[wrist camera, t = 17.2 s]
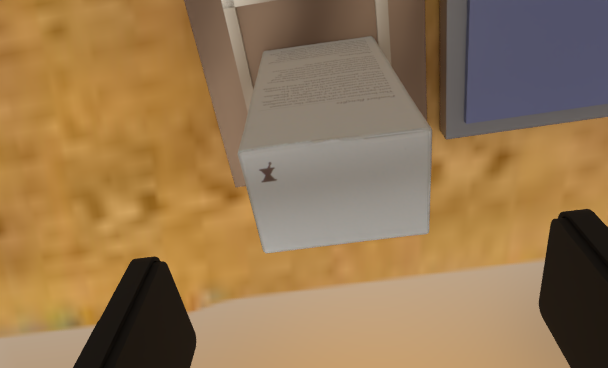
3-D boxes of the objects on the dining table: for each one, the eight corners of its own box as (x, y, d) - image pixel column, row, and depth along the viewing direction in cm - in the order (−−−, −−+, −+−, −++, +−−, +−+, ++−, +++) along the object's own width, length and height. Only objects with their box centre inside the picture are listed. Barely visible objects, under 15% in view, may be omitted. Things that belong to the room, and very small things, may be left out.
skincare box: (275, 122, 26) (258, 257, 16) (261, 49, 24) (231, 149, 14) (380, 109, 26) (432, 238, 15) (376, 33, 23) (434, 123, 13)
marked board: (418, -61, 22) (425, -60, 21) (423, 153, 28) (428, 163, 27) (184, -20, 23) (177, -17, 22) (237, 179, 29) (235, 189, 28)
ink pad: (645, -67, 22) (671, -65, 20) (609, 105, 27) (629, 117, 25) (439, -32, 23) (449, -28, 21) (439, 129, 27) (447, 142, 26)
